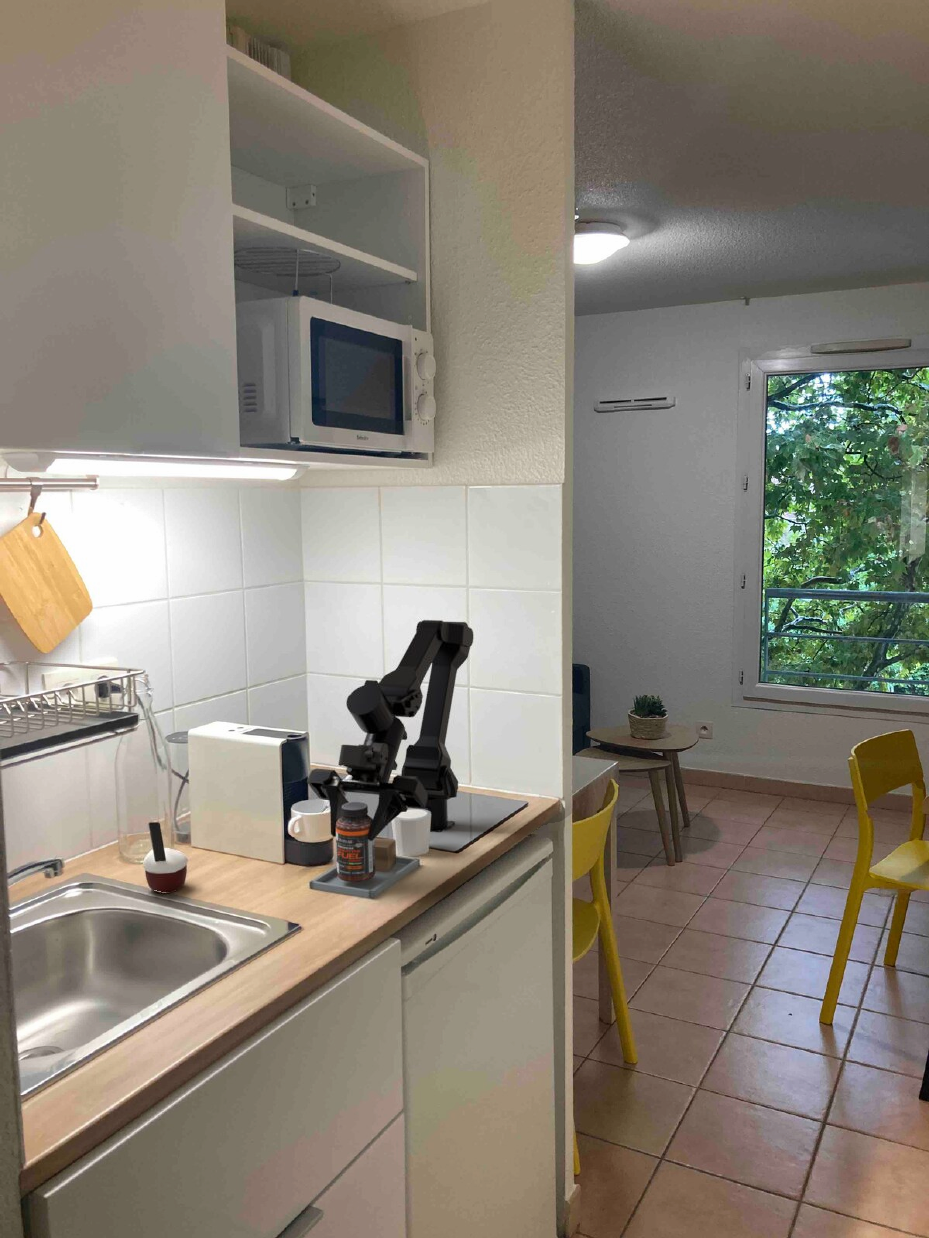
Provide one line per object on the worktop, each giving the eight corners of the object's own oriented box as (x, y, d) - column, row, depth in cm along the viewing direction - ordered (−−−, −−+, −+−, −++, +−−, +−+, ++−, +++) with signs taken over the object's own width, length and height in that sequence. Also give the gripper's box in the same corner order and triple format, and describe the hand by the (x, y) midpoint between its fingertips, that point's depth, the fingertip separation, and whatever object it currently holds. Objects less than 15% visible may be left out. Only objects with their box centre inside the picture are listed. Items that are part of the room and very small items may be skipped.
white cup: (439, 850, 169) (438, 810, 168) (419, 863, 163) (418, 821, 162) (404, 844, 172) (403, 805, 171) (383, 857, 166) (382, 816, 165)
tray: (360, 859, 165) (360, 850, 165) (419, 868, 160) (419, 858, 160) (309, 892, 151) (309, 881, 151) (372, 902, 147) (372, 892, 146)
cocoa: (168, 879, 159) (163, 805, 158) (201, 882, 156) (196, 807, 156) (128, 899, 150) (123, 820, 149) (162, 902, 148) (158, 823, 147)
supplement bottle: (332, 883, 151) (329, 810, 149) (342, 868, 156) (339, 799, 155) (371, 884, 150) (368, 811, 148) (379, 869, 156) (377, 799, 154)
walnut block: (373, 861, 162) (372, 837, 162) (396, 863, 161) (395, 839, 161) (364, 870, 158) (363, 845, 158) (388, 872, 157) (387, 847, 157)
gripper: (310, 719, 157) (276, 806, 148) (418, 725, 151) (389, 818, 142) (335, 755, 166) (305, 840, 157) (439, 763, 159) (413, 852, 150)
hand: (351, 837), depth 151 cm, fingers closed on supplement bottle, 6 cm apart
